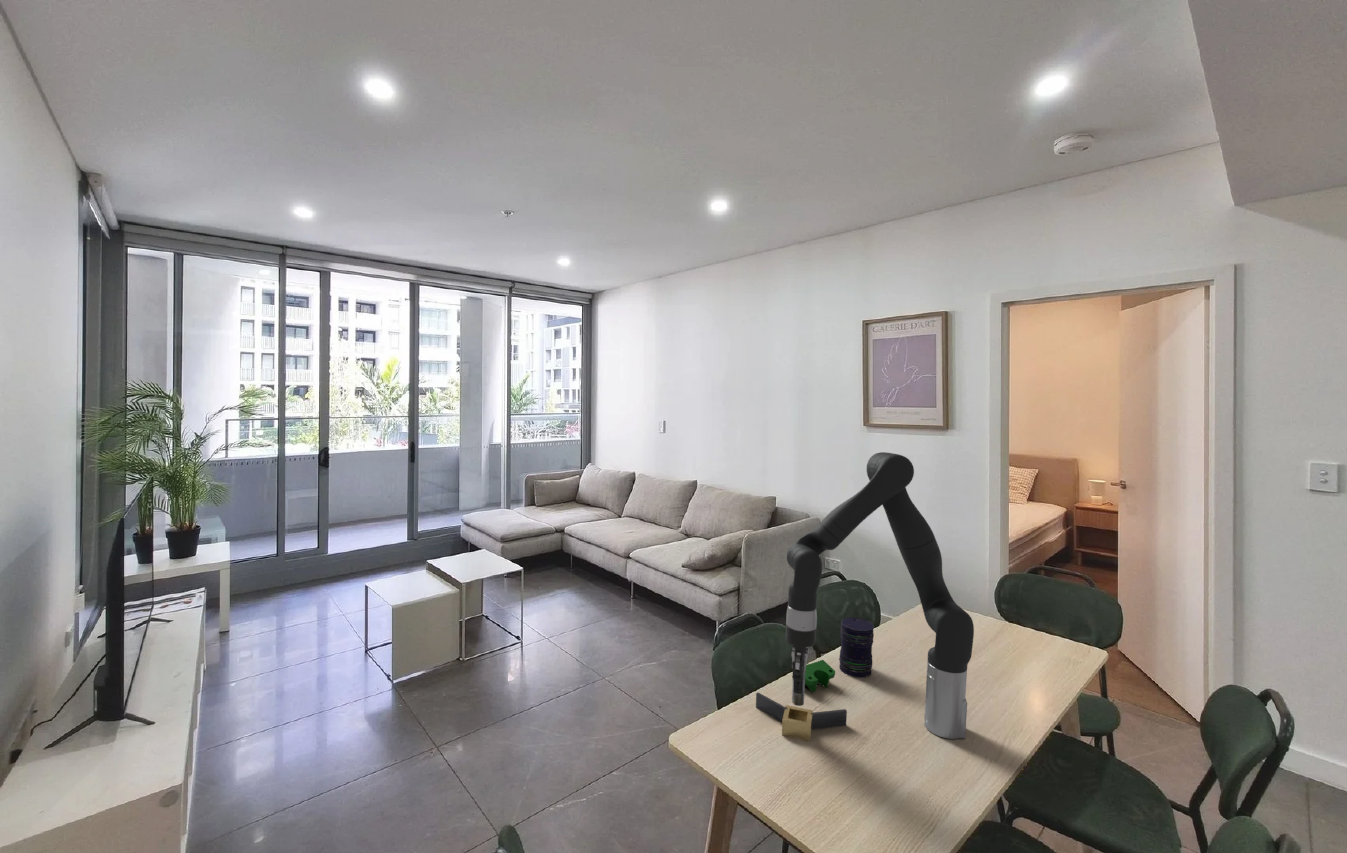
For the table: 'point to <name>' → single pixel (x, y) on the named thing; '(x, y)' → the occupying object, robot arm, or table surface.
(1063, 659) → the table surface
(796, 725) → the hinge
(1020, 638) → the table surface
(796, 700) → the hinge pin
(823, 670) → the clamp
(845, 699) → the table surface
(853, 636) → the storage jar
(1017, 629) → the table surface
